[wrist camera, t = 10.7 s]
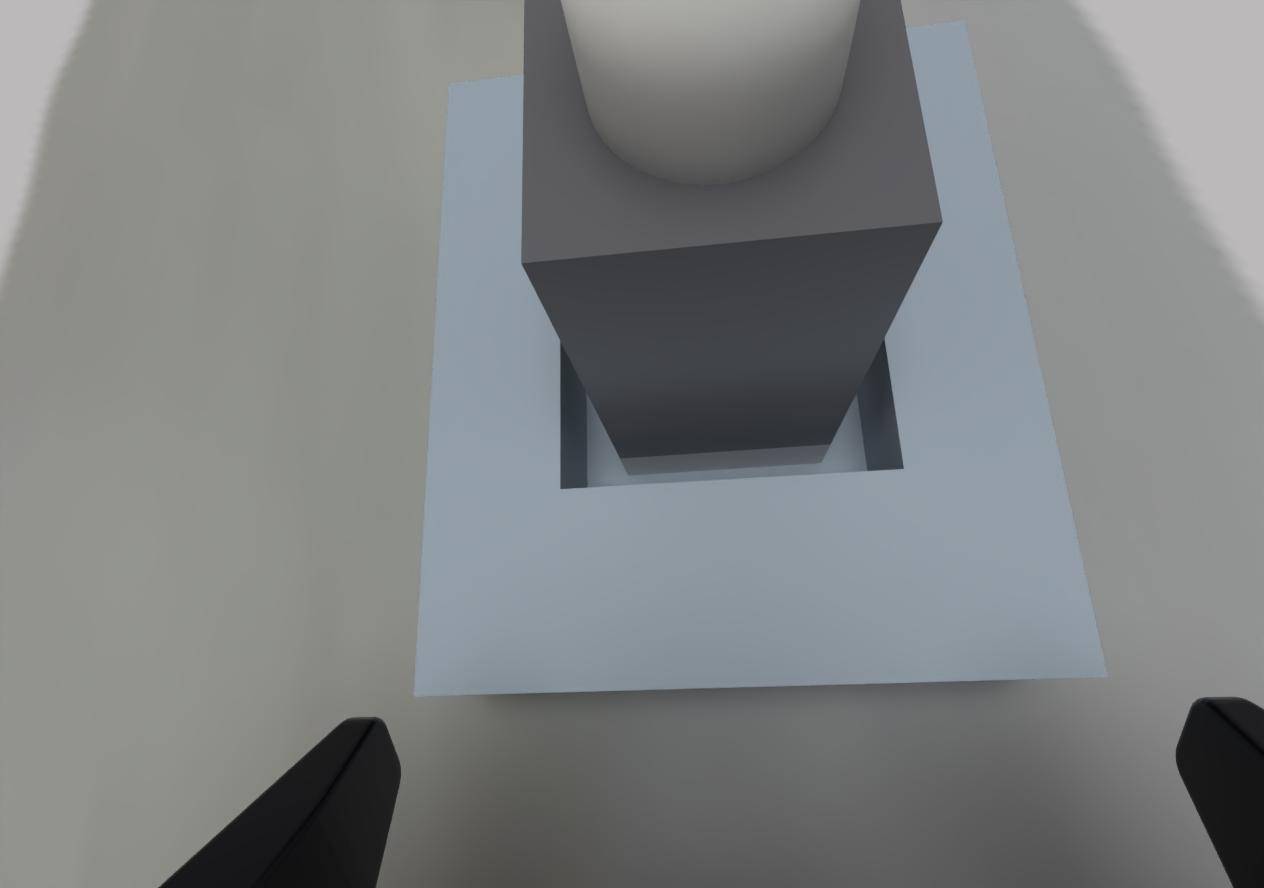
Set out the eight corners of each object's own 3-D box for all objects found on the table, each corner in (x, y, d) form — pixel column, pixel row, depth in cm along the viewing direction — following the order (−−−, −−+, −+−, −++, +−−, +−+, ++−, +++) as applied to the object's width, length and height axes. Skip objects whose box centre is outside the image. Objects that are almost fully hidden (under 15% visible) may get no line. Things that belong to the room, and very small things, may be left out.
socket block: (1013, 673, 16) (1108, 676, 12) (483, 688, 17) (413, 696, 13) (917, 143, 20) (965, 20, 16) (498, 188, 21) (448, 83, 17)
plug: (821, 462, 16) (1082, -55, 5) (628, 475, 17) (406, 37, 5) (800, 289, 18) (961, -460, 6) (622, 306, 18) (436, -359, 6)
